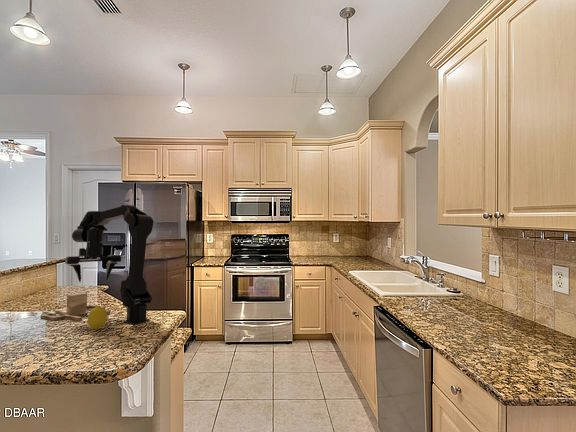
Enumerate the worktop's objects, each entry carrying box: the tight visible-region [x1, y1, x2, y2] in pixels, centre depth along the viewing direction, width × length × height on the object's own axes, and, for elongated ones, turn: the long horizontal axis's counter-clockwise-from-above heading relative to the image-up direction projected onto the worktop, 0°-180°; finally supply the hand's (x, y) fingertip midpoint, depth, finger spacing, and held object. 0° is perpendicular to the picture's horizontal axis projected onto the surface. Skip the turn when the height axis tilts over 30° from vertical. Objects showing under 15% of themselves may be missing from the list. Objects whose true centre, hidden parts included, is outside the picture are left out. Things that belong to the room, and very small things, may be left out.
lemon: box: [87, 305, 108, 331], centre depth 102 cm, size 6×6×8 cm
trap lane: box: [40, 304, 111, 322], centre depth 122 cm, size 23×20×1 cm
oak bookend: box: [53, 292, 88, 316], centre depth 124 cm, size 11×6×8 cm, turn 66°
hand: (93, 280), depth 123 cm, fingers open, 9 cm apart
